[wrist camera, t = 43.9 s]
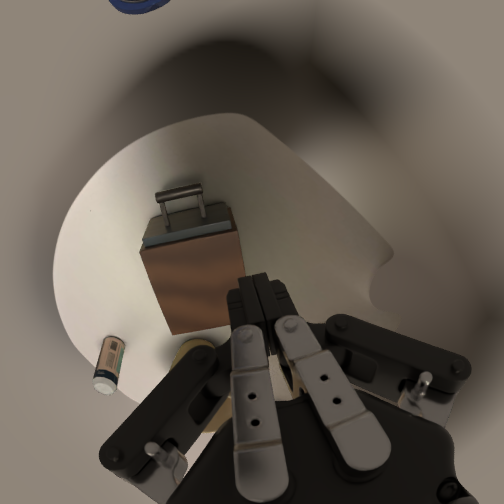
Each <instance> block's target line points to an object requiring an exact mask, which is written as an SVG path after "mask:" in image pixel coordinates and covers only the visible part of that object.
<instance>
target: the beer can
mask: <svg viewBox="0 0 504 504" xmlns="http://www.w3.org/2000/svg"><path fill="white" fill-rule="evenodd" d="M124 349H125V346H124V344H123V342H122V341H120V340H119V339H117V338H114V337H108V338H106V339H104V341H103V344H102V348H101V351H100V355H99V358H98V362H97V365H96V370H95V373H94V377H93V385H94V389H95V390H96V391H98V392H99V393H101V394H104V395H111V394H113V393H114V392H115V391H116V390H117V384H118V378H119V373H120V368H121V363H122V358H123V353H124Z"/></svg>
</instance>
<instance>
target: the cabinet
mask: <svg viewBox="0 0 504 504" xmlns="http://www.w3.org/2000/svg"><path fill="white" fill-rule="evenodd" d="M227 210H228V214H229V217H230V221H231V226H232V229H228V230H226V231H222V232H217V233H212V234H207V235H202V236H198V237H193V238H188V239H183V240H179V241H174V242H170V243H165V244H161V245H153V246H148V247H144V244H142V246H141V249H140V251H139V252H140V255H141V258H142V261H143V264H144V266H145V269H146V272H147V274H148V277H149V280H150V282H151V285H152V287H153V290H154V293H155V295H156V298H157V300H158V303H159V305H160V307H161V310H162V312H163V315H164V317H165V319H166V322H167V324H168V326H169V328H170V331H171V333H172V335H177V334H183V333H189V332H194V331H200V330H205V329H211V328H216V327H221V326H226V325H230V319H229V313H228V306H227V300H226V296H227V293H228V291H229V290H231V289H236V288H239V285H238V280H237V278H241V277H246V275H245V269H244V264H243V258H242V253H241V247H240V242H239V236H238V231H237V227H236V224H235V221H234V218H233V215H232V211H231V208H230V207H229V208H227Z"/></svg>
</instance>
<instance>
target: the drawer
mask: <svg viewBox="0 0 504 504" xmlns="http://www.w3.org/2000/svg"><path fill="white" fill-rule="evenodd" d="M202 193H203V189H202V184H201V183H196V184H192V185H187V186H183V187H178V188H174V189H170V190H165V191H161V192H157V193H155V197H156V201H157V203H159V204H160V208H161V212H162V216H160V217H156V218H152V219H151V220H150V222H149V224H148V227H147V229H146V231H145V234H144V236H143V238H142V240H143V244H144V247H148V246H153V245H161V244H165V243H170V242H174V241H179V240H183V239H188V238H193V237H198V236H202V235H207V234H212V233H217V232H222V231H226V230H228V229H232V226H231V221H230V217H229V214H228V210H227V206H226V203H220V204H215V205H210V206H205V207H204V202H203V197H202ZM193 195H197V197H198V202H199V207H200V208H196V209H191V210H187V211H182V212H178V213H173V214H169V215H168V214H167V210H166V207H165V203H164V202H166V201H170V200H175V199H179V198H183V197H188V196H193Z"/></svg>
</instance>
